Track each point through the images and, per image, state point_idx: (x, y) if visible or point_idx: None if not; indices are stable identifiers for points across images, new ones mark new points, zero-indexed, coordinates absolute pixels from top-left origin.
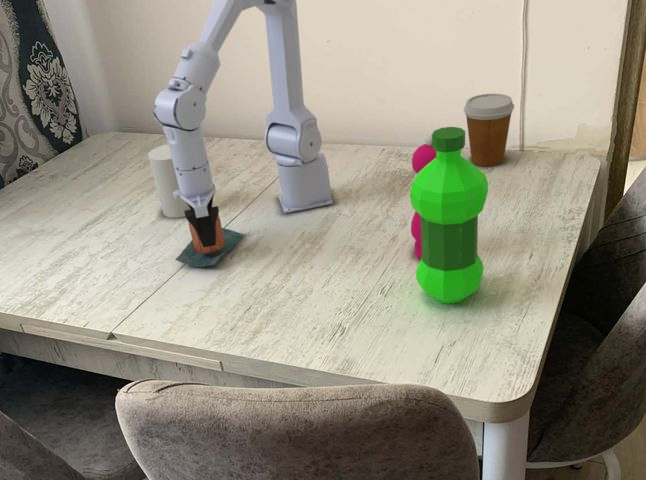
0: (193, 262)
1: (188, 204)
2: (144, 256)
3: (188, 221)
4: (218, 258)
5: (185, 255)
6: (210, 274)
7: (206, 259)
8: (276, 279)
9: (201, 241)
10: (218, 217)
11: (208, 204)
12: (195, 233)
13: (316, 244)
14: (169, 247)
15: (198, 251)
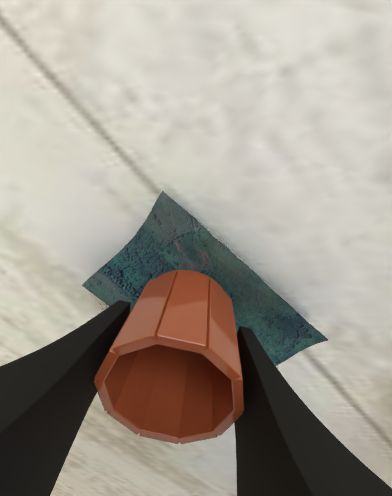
0: (153, 240)
1: (284, 444)
2: (335, 95)
3: (195, 343)
4: (109, 303)
5: (185, 231)
6: (87, 258)
7: (152, 275)
8: (11, 356)
9: (103, 311)
10: (149, 436)
11: (242, 477)
12: (134, 319)
13: (112, 442)
14: (326, 202)
15: (165, 273)
